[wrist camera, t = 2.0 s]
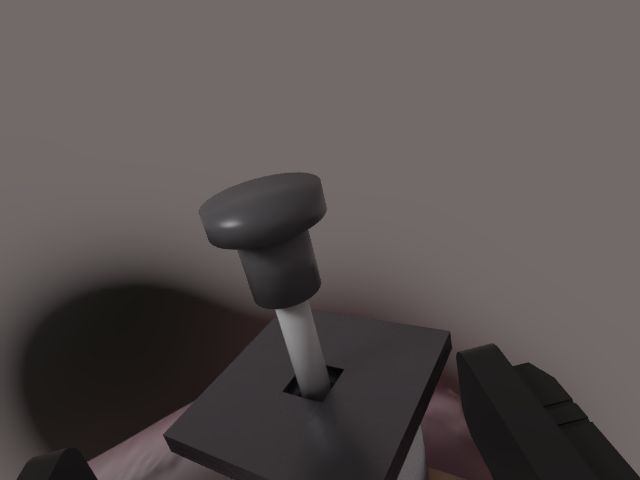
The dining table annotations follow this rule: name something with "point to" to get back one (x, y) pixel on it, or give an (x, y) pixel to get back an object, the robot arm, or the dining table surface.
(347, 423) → the press
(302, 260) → the plunger
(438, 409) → the dining table surface
